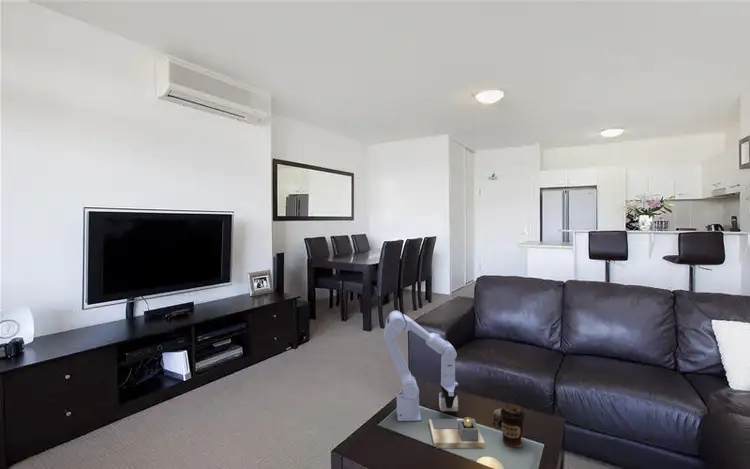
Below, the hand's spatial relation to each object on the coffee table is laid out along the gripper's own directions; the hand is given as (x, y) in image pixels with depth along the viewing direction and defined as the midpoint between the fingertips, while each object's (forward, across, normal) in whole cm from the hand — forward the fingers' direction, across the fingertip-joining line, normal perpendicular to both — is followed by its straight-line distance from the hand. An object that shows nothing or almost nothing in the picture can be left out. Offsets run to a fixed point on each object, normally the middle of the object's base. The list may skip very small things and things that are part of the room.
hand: (448, 404), depth 153 cm
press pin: (0, -18, -4) cm, 18 cm away
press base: (+4, -14, 0) cm, 15 cm away
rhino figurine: (+4, -5, -22) cm, 23 cm away
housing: (+2, 0, 0) cm, 2 cm away
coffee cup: (+4, -19, -20) cm, 28 cm away
